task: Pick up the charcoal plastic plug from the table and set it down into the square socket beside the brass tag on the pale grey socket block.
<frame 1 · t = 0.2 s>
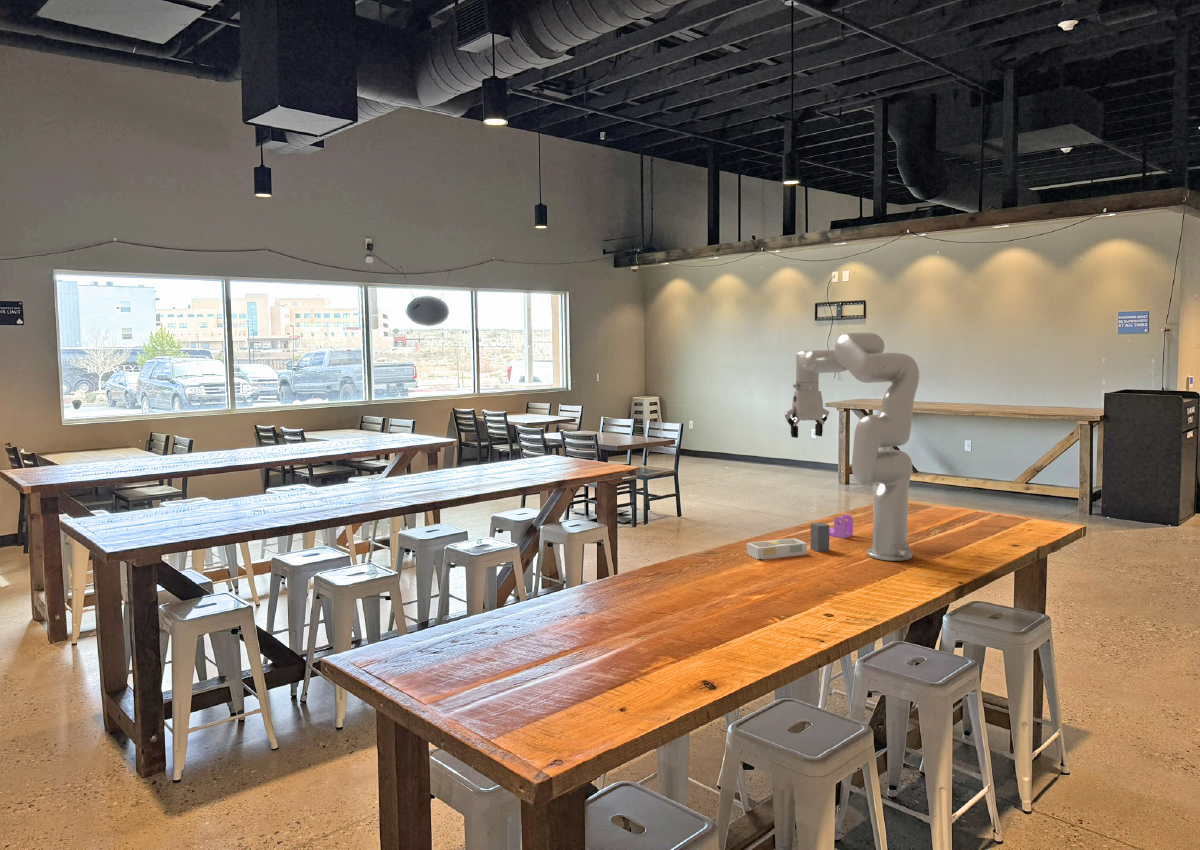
hand: (806, 436, 280), 31 cm above the table, tool pointing down, fingers open, 9 cm apart
plug: (819, 549, 250), on the table
socket block: (776, 554, 245), on the table
bracket: (830, 534, 270), on the table
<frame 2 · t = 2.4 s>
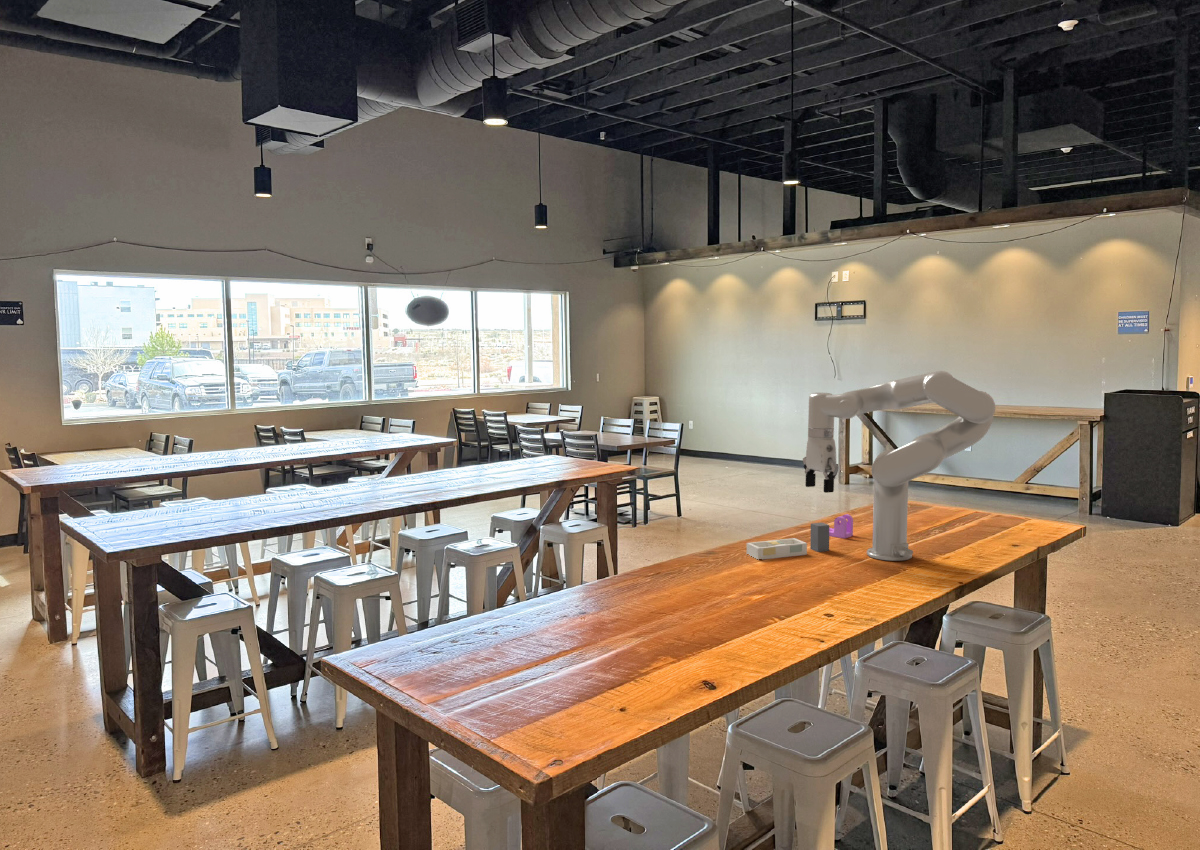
hand: (819, 489, 248), 19 cm above the table, tool pointing down, fingers open, 9 cm apart
nothing on the table moved.
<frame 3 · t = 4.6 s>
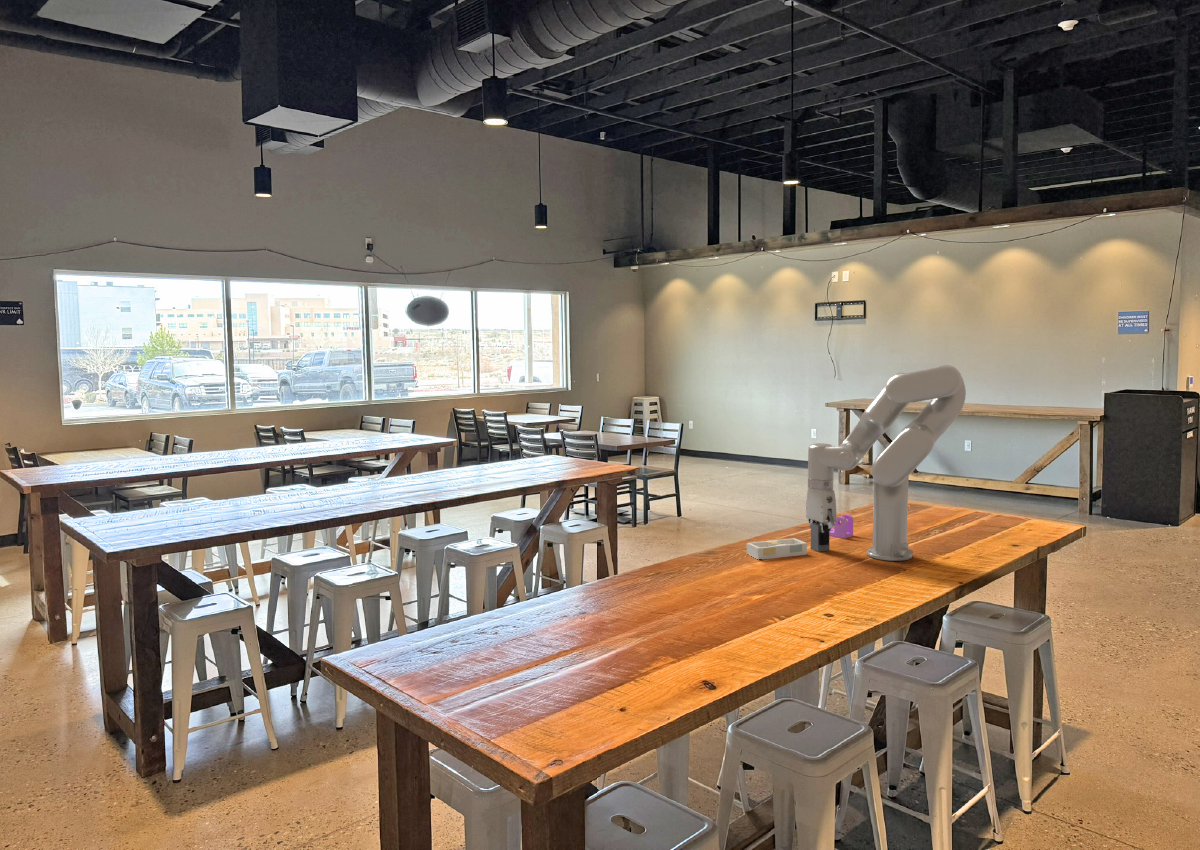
hand: (819, 542, 249), 2 cm above the table, tool pointing down, fingers closed on plug, 3 cm apart
plug: (820, 549, 250), on the table, touching gripper
everything else where it was.
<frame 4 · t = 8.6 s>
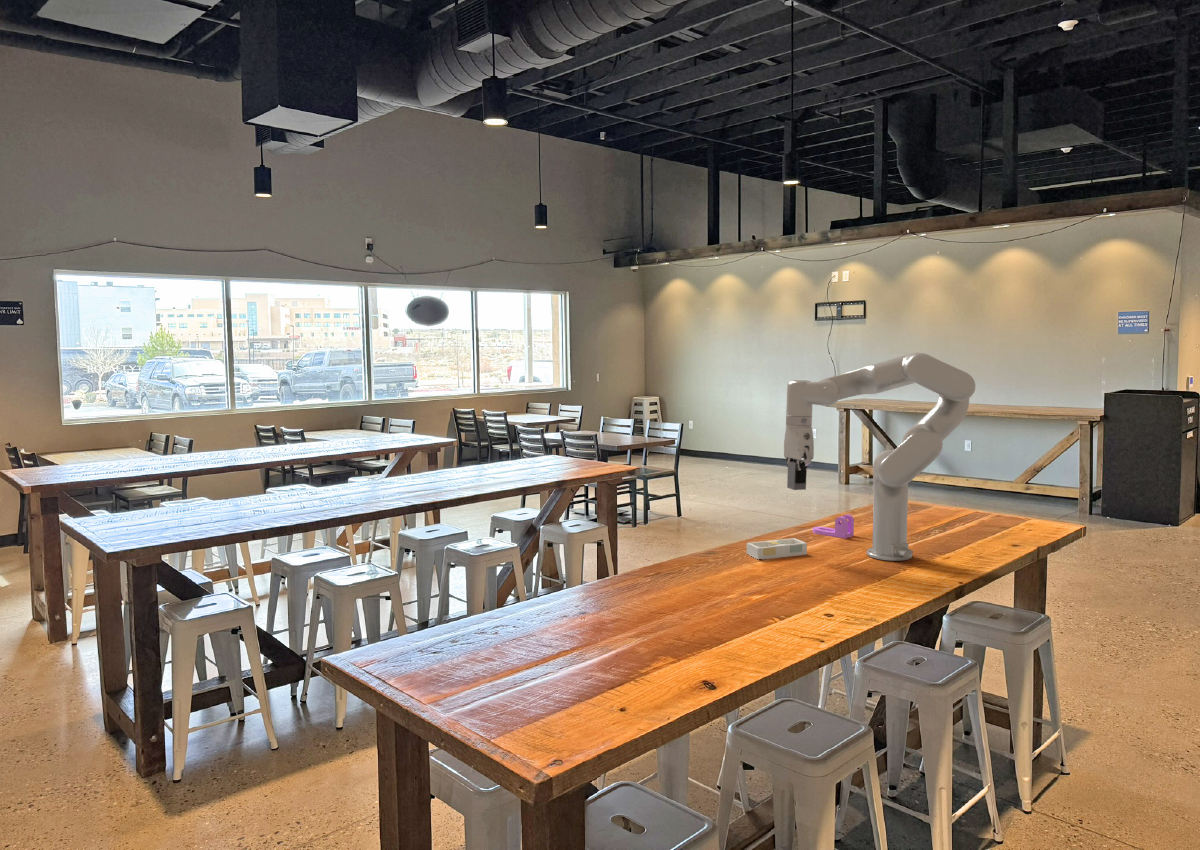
hand: (796, 481, 245), 22 cm above the table, tool pointing down, fingers closed on plug, 3 cm apart
plug: (796, 488, 246), point 20 cm above the table, touching gripper
everything else where it was.
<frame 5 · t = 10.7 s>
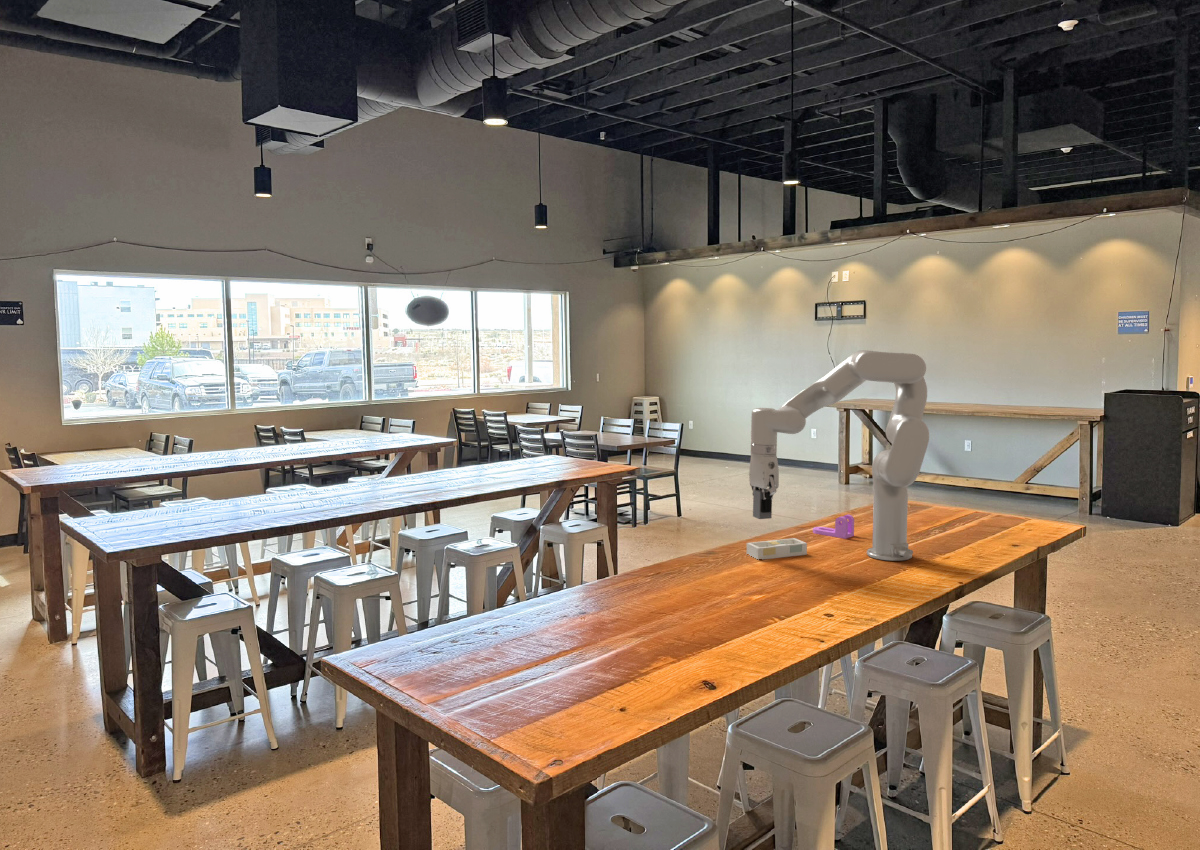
hand: (762, 510, 242), 14 cm above the table, tool pointing down, fingers closed on plug, 3 cm apart
plug: (762, 517, 242), point 12 cm above the table, touching gripper
everything else where it was.
when the fingers open (5 cm above the table, at t = 12.6 s): plug drops 2 cm, resting on socket block.
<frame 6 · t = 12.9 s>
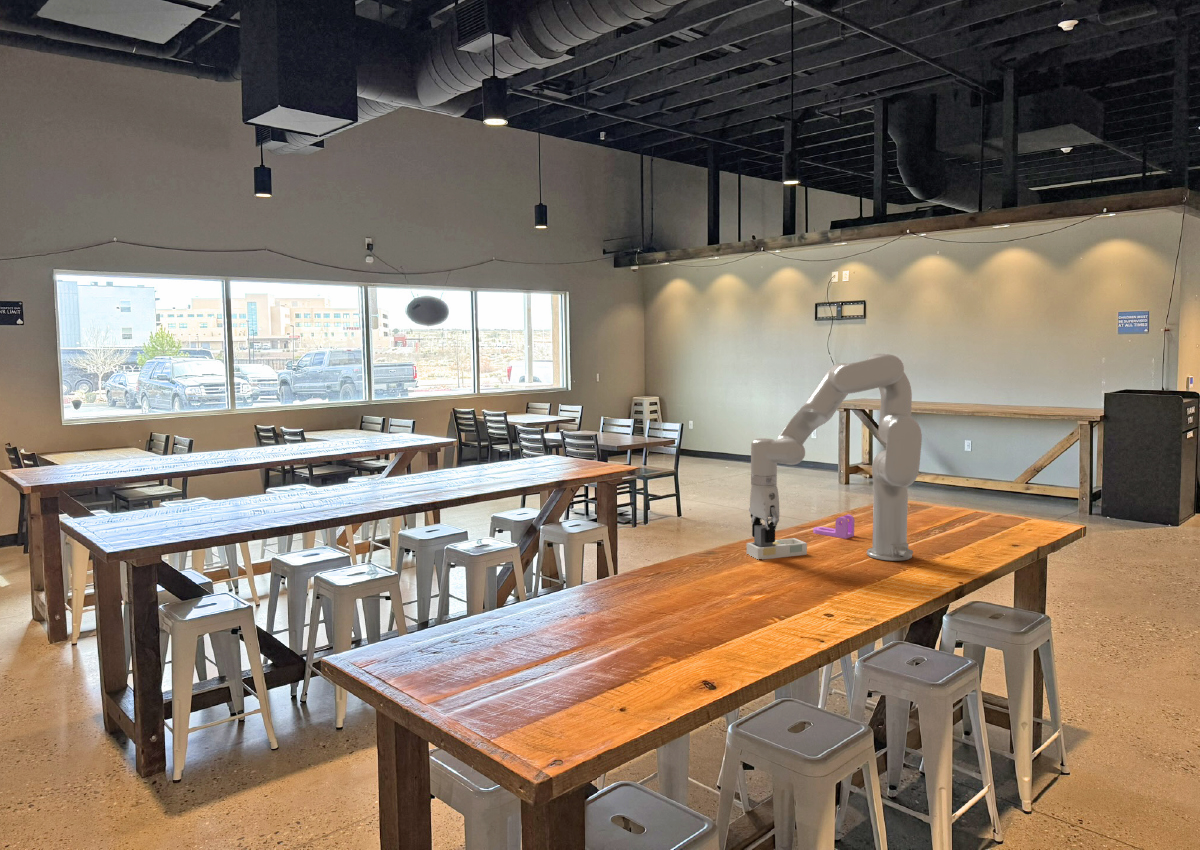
hand: (763, 538, 243), 5 cm above the table, tool pointing down, fingers open, 6 cm apart
plug: (763, 552, 244), point 1 cm above the table, touching socket block
everything else where it was.
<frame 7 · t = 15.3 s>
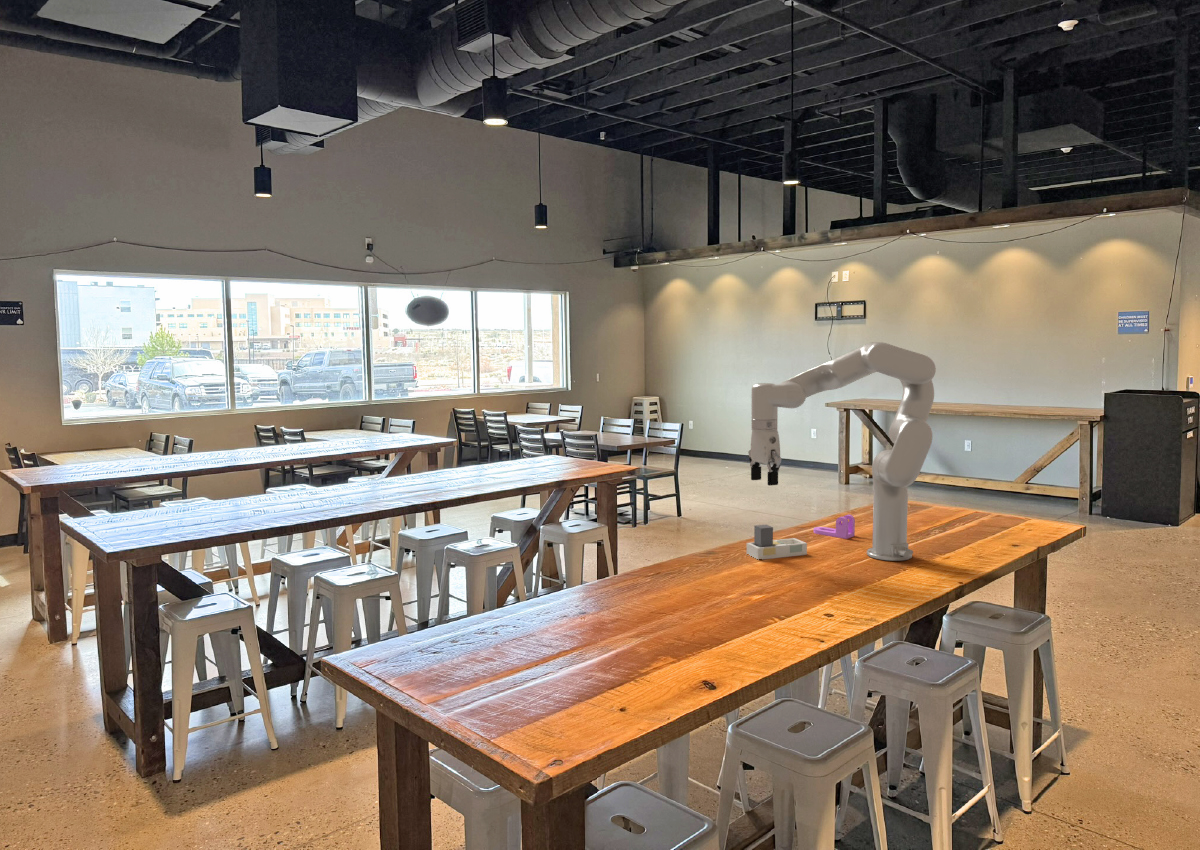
hand: (764, 482, 241), 22 cm above the table, tool pointing down, fingers open, 9 cm apart
nothing on the table moved.
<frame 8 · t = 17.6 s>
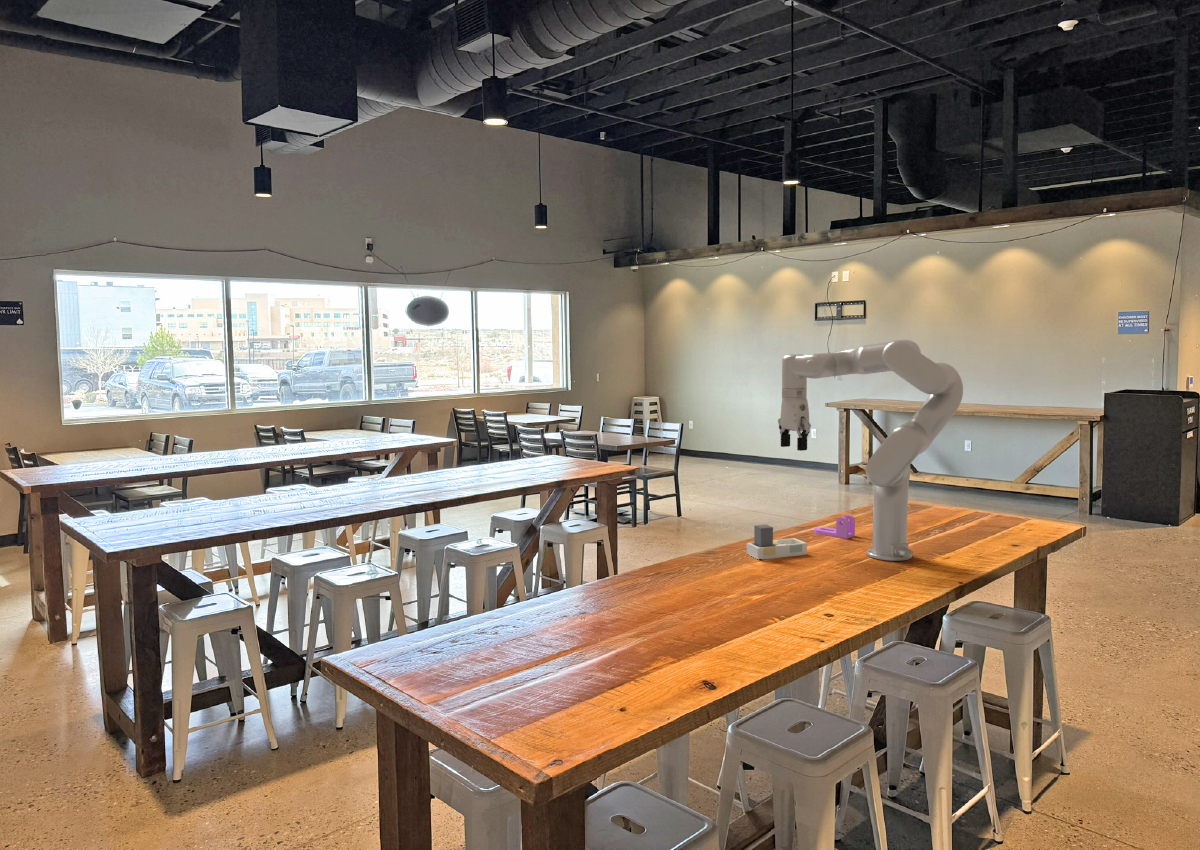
hand: (793, 448, 256), 30 cm above the table, tool pointing down, fingers open, 9 cm apart
nothing on the table moved.
at the end: plug 0.0 cm from the target spot on the socket block, point 1.0 cm above the socket block's base; plug tilted 0°; the gripper is holding nothing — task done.
